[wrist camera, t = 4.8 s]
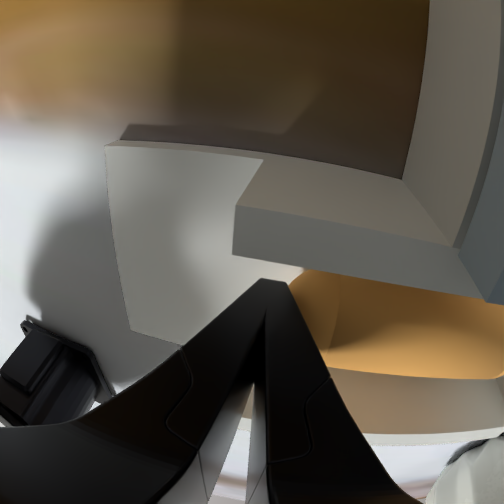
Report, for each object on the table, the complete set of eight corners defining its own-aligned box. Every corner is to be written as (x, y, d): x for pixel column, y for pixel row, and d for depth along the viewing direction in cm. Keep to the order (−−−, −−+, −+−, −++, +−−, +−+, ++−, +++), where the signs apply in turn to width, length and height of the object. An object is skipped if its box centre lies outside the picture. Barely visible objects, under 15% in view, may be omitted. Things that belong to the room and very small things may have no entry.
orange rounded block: (486, 342, 10) (507, 394, 7) (276, 311, 10) (262, 376, 8) (519, 287, 8) (552, 338, 6) (290, 239, 9) (280, 299, 7)
